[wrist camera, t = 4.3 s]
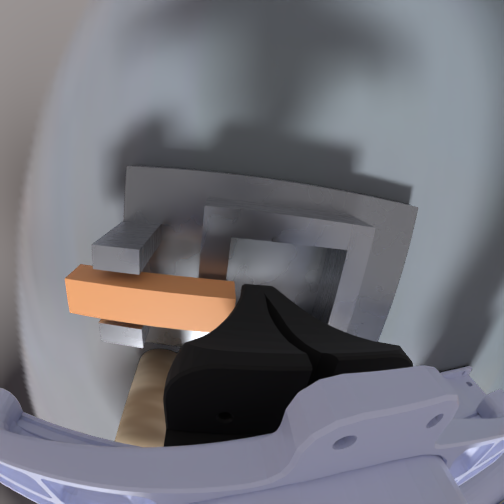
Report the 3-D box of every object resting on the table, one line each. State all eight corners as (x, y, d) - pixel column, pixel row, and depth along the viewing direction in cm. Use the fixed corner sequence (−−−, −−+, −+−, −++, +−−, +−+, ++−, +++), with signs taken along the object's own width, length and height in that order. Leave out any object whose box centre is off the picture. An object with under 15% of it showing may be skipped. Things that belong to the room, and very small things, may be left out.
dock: (409, 204, 16) (463, 224, 11) (368, 343, 19) (399, 388, 14) (132, 165, 14) (92, 172, 9) (132, 330, 17) (110, 383, 12)
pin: (234, 281, 12) (236, 299, 11) (230, 313, 13) (231, 334, 11) (80, 264, 11) (64, 278, 10) (83, 295, 12) (69, 312, 10)
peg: (190, 352, 18) (181, 439, 11) (190, 389, 19) (183, 471, 12) (137, 345, 17) (108, 427, 11) (141, 383, 18) (121, 460, 12)
